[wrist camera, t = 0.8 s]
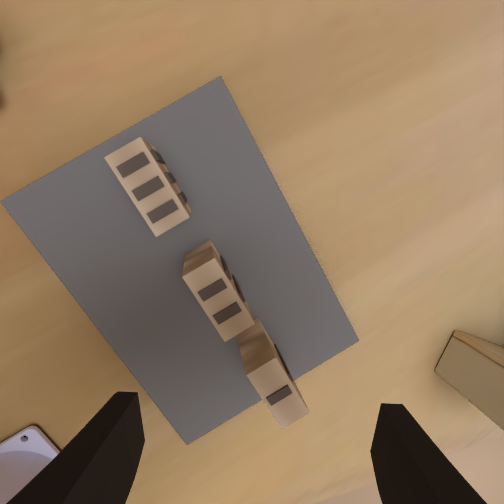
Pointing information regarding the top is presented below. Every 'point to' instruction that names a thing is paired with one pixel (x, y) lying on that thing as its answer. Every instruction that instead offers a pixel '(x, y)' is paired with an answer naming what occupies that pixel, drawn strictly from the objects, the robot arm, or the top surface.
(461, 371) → the skincare box
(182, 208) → the tile three
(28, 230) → the mat
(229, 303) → the tile two
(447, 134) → the top surface
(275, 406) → the tile one
